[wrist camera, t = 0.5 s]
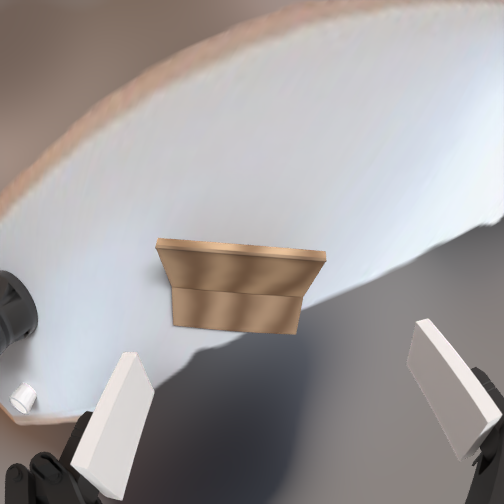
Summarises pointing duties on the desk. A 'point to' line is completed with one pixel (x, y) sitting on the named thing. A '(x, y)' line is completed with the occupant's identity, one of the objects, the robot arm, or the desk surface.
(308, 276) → the plank
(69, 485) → the robot arm
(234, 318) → the laid board
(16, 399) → the white cup
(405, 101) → the desk surface
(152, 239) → the desk surface
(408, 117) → the desk surface
